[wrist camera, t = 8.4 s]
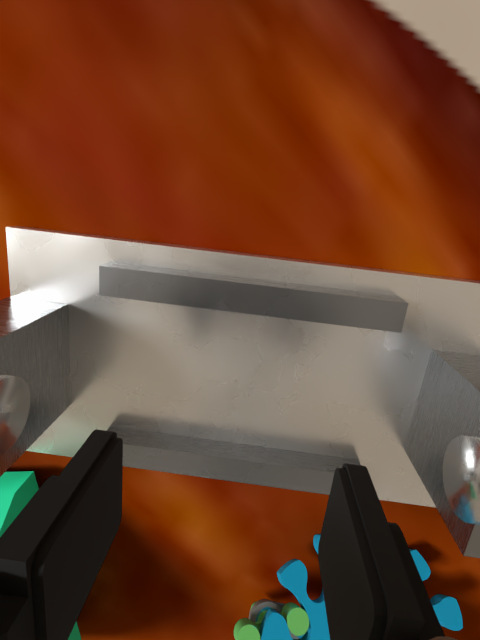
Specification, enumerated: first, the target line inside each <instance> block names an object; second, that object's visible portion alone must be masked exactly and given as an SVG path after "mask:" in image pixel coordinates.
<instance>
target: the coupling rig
mask: <svg viewBox="0 0 480 640" xmlns="http://www.w3.org/2000/svg"><path fill="white" fill-rule="evenodd" d="M6 239H7V253H8V266H9V280H10V293H11V297H8V298H5V299H3V300H0V477H1V476H2V475H3V474H4V473H5V471H6V470H7V469H8V468H9V467H10V466H11V465H12V464H13V463H14V462H15V461H16V460H17V459H18V458H19V457H20V456H21V455H22V454H23V453H24V452H25V451H32V452H40V453H47V454H54V455H61V456H68V457H74V455H75V454H76V453H77V451H78V450H79V449H80V447H81V446H82V445H83V444H84V442H85V441H86V440H87V438H88V437H89V436H90V434H91V433H92V432H93V431H94V430H96V429H97V430H104V431H112V432H116V434H117V438H122V440H123V464H122V466H126V467H133V468H140V469H148V470H155V471H162V472H169V473H176V474H184V475H191V476H198V477H205V478H212V479H220V480H227V481H234V482H241V483H248V484H256V485H263V486H270V487H277V488H284V489H292V490H299V491H306V492H313V493H320V494H328V495H330V491H331V486H332V482H333V477H334V472H335V469H336V468H342V466H343V464H345V463H347V464H354V465H362V466H366V467H367V469H368V472H369V475H370V477H371V480H372V482H373V485H374V488H375V490H376V493H377V496H378V498H379V500H385V501H393V502H400V503H407V504H414V505H421V506H429V507H436V508H437V509H438V511H439V513H440V515H441V516H442V518H443V520H444V522H445V524H446V525H447V527H448V529H449V531H450V533H451V534H452V536H453V538H454V540H455V542H456V543H457V545H458V547H459V549H460V551H461V552H462V554H463V556H469V557H476V558H480V281H477V280H468V279H460V278H452V277H443V276H435V275H426V274H418V273H410V272H401V271H393V270H384V269H376V268H367V267H359V266H351V265H342V264H334V263H325V262H317V261H309V260H300V259H292V258H283V257H275V256H266V255H258V254H250V253H241V252H233V251H224V250H216V249H208V248H199V247H191V246H182V245H174V244H165V243H157V242H149V241H140V240H132V239H123V238H115V237H107V236H98V235H90V234H81V233H73V232H64V231H56V230H48V229H39V228H31V227H22V226H11V227H6Z"/></svg>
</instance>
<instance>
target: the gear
mask: <svg viewBox="0 0 480 640" xmlns="http://www.w3.org/2000/svg"><path fill="white" fill-rule="evenodd" d="M320 536H321V534H316V535H314V538H313V544H314V548H315V550H316V552H317V554H318V546H319V540H320ZM409 550H410V553H411V555H412V557H413V560H414V562H415V565H416V567H417V570H418V572H419V574H420V577H421V579H422V581H424V580H426V579H427V578H428V577H429V576H430V573H431V571H430V568H429V566H428V564H427V563H426V561H425V560H424V558H423V557H422V556H421V555H420V553H419V552H418V551H417V550H414V549H409ZM277 577H278V580H279V582H280V583H281V584H282V585H283V586H284V587H285V588H287V589H288V590H290V591H291V592H292V593H293V594H294V596H295V597H296V598H297V600H298V602H299V603H300V605H301V608H300V607H299V606H298V605H296V604H295V603H292V602H290V603H287V604H284V603H280V602H276V601H272V600H268V599H262V600H259V601H257V602H254V603H253V604H252V606H251V610H250V613H249V619H247V618H242V619H240V620H239V621H238V622H237V623H236V625H235V627H234V637H235V640H330V635H329V628H328V622H327V615H326V608H325V601H324V594H323V587H322V593H321V595H320V597H319V598H317V599H315V600H310V598H309V597H308V595H307V591H306V586H307V570H306V567H305V565H304V564H303V563H302V562H301V561H300V560H298V559H292V560H290V561H288V562H287V563H285V564H284V565H283V566H282V567H281V568H280V569H279V570H278V571H277ZM430 601H431V604H432V606H433V609H434V611H435V613H436V616H437V618H438V621H439V623H440V625H441V626H443V627H445V628H448V629H450V630H453V631H459V630H461V629H462V628H463V620H462V615H461V611H460V608H459V605H458V602H457V599H455V598H453V597H450V596H446V595H442V594H437V595H434V596H433V597H432V598H431V599H430Z"/></svg>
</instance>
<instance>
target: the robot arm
mask: <svg viewBox="0 0 480 640" xmlns="http://www.w3.org/2000/svg"><path fill="white" fill-rule="evenodd" d="M122 464H123V440H122V438H117V434H116V432H112V431H104V430H97V429H96V430H94V431H93V432H92V433H91V434H90V436H89V437H88V438H87V440H86V441H85V442H84V444H83V445H82V446H81V447H80V449H79V450H78V451H77V453H76V454H75V455H74V457H73V458H72V459H71V461H70V462H69V463H68V464H67V466H66V467H65V468H64V470H63V471H62V472H61V474H60V475H59V476H55V475H53V476H51V477H49V478H48V479H47V480H46V481H45V482H44V483H43V485H42V486H41V487H40V488H39V490H38V491H37V492H36V493H35V495H34V496H33V497H32V498H31V500H30V501H29V502H28V503H27V505H26V506H25V507H24V508H23V510H22V511H21V512H20V513H19V515H18V516H17V517H16V518H15V520H14V521H13V522H12V523H11V525H10V526H9V527H8V528H7V530H6V531H5V532H4V533H3V535H2V536H1V537H0V640H68V638H69V636H70V634H71V632H72V629H73V627H74V625H75V623H76V621H77V618H78V616H79V614H80V612H81V610H82V607H83V605H84V603H85V601H86V599H87V597H88V594H89V592H90V590H91V588H92V586H93V583H94V581H95V579H96V577H97V575H98V572H99V570H100V568H101V566H102V564H103V562H104V559H105V557H106V555H107V553H108V551H109V548H110V546H111V544H112V542H113V540H114V538H115V535H116V533H117V531H118V528H119V525H120V521H121V515H122ZM318 559H319V566H320V573H321V580H322V587H323V594H324V601H325V608H326V615H327V622H328V628H329V635H330V640H456V639H453V638H450V637H445V635H444V633H443V630H442V628H441V626H440V623H439V621H438V618H437V616H436V613H435V611H434V609H433V606H432V604H431V601H430V599H429V596H428V594H427V591H426V589H425V587H424V584H423V582H422V579H421V577H420V574H419V572H418V570H417V567H416V565H415V562H414V560H413V557H412V555H411V553H410V550H409V548H408V545H407V543H406V540H405V538H404V536H403V533H402V531H401V529H400V527H399V526H398V525H397V524H396V523H389V522H387V519H386V517H385V514H384V512H383V509H382V506H381V504H380V501H379V498H378V496H377V493H376V490H375V488H374V485H373V482H372V480H371V477H370V475H369V472H368V469H367V467H366V466H362V465H354V464H347V463H345V464H343V466H342V468H336V469H335V472H334V477H333V482H332V486H331V491H330V495H329V500H328V504H327V509H326V513H325V518H324V522H323V527H322V531H321V536H320V540H319V546H318Z"/></svg>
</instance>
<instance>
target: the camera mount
mask: <svg viewBox="0 0 480 640" xmlns="http://www.w3.org/2000/svg"><path fill="white" fill-rule="evenodd" d="M38 490H39V488H38V484H37V481H36V477H35V474H34V471H21V472H5V473H4V474H3V475H2V476H1V477H0V537H1V536H2V535H3V533H4V532H5V531H6V530H7V528H8V527H9V526H10V525H11V523H12V522H13V521H14V520H15V518H16V517H17V516H18V515H19V513H20V512H21V511H22V510H23V508H24V507H25V506H26V505H27V503H28V502H29V501H30V500H31V498H32V497H33V496H34V495H35V493H36V492H37V491H38ZM68 640H81V636H80V632H79V629H78V625H77V622H76V623H75V625H74V627H73V629H72V632H71V634H70V636H69V638H68Z"/></svg>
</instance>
